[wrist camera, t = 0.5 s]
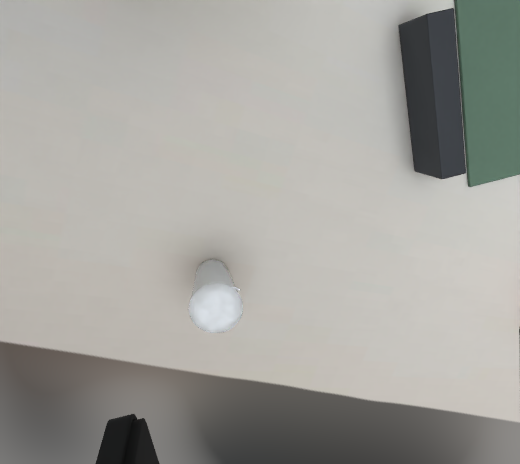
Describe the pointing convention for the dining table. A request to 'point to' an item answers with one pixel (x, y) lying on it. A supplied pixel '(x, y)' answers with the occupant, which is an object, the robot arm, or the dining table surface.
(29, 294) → the dining table surface
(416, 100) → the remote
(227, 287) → the milkshake
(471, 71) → the placemat
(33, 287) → the dining table surface
